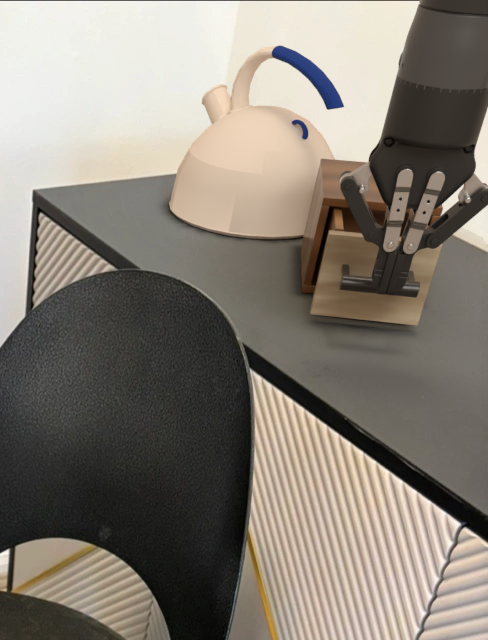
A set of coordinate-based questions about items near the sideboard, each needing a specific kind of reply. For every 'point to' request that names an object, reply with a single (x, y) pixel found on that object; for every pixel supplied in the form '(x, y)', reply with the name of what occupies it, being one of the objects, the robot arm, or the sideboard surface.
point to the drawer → (366, 275)
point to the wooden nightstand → (322, 199)
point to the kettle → (254, 159)
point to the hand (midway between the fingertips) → (385, 291)
